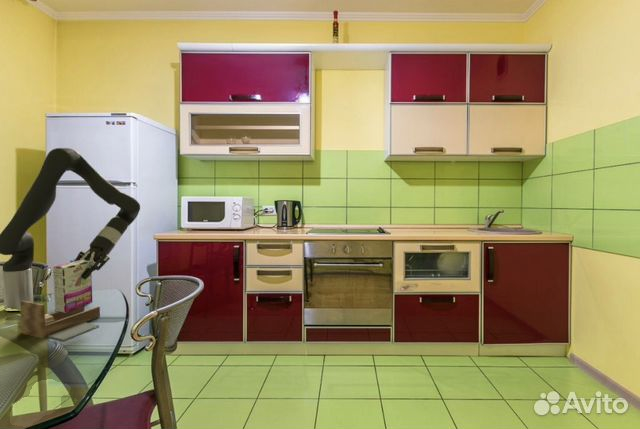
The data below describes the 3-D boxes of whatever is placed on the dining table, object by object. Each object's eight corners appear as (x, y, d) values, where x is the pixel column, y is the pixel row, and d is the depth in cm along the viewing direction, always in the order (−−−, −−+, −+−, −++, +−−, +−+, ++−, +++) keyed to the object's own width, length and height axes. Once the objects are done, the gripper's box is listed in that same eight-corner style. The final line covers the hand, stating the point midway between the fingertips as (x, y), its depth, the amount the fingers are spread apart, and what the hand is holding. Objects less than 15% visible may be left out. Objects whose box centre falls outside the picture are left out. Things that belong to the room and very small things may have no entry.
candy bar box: (82, 301, 132) (81, 259, 130) (92, 302, 130) (92, 260, 129) (53, 311, 121) (52, 266, 119) (64, 313, 120) (63, 267, 118)
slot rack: (21, 333, 124) (20, 301, 123) (81, 312, 144) (80, 284, 143) (42, 338, 120) (41, 305, 119) (100, 316, 141) (100, 288, 140)
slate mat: (48, 337, 121) (48, 335, 121) (83, 323, 134) (83, 322, 134) (64, 341, 119) (64, 339, 119) (99, 326, 131) (98, 325, 131)
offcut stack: (31, 333, 124) (31, 318, 124) (46, 327, 129) (46, 313, 128) (41, 335, 122) (41, 321, 122) (56, 330, 127) (56, 316, 127)
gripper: (86, 233, 136) (56, 270, 126) (113, 236, 131) (84, 274, 121) (99, 244, 141) (71, 280, 131) (125, 247, 137) (98, 284, 127)
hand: (77, 277), depth 126 cm, fingers closed on candy bar box, 5 cm apart
